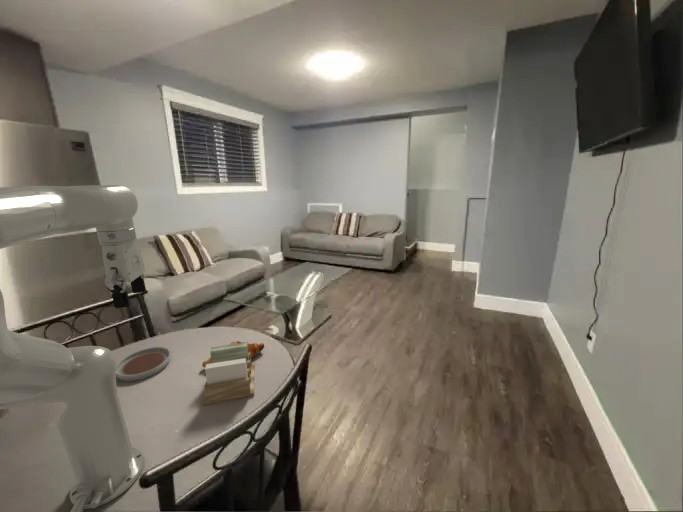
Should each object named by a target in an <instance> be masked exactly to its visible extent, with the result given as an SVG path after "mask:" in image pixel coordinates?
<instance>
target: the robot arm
mask: <svg viewBox="0 0 683 512" xmlns="http://www.w3.org/2000/svg"><path fill="white" fill-rule="evenodd" d="M138 205H139V203H138V199H137V197H136V195H135V193H134V191H132V190H131V189H130V188H128V187H127V186H125V185H121V184H120V185H119V184H116V185H115V184H114V185H113V184H108V185H107V184H106V185H105V184H103V185H100V184H98V185H97V184H96V185H95V184H94V185H93V184H91V185H67V186H63V185H20V186H19V185H18V186H6V187H4V186H3V187H0V250H1V249H6V248H9V247H13V246H17V245H20V244H23V243H28V242H30V241H34V240H38V239H42V238H46V237H49V236H55V235H61V234H62V235H63V234H67V233H74V232H79V231H83V230H89V229H94V228H95V230H96V234H97V238H98V242H99V243H98V244H99V245H100V246H101V251H102V260H103V265H104V266H103V267H104V271H105V275H106V277H105V279H104V284H105V285H106V288H107V290H108V291H109V293H110V295H111V298H112V302H113V307H114V308H115V309H121V308H122V309H123V308H129V307H130V306H131V302H130V297H129V293H128V291H127V290H126V287H127V283H130V287H131V291H132V293H133V294H140V293H145V292H147V290H146V289H147V287H146V284H145V278H144V277H145V275H144V273H145V271H146V267H145V263H144V260H143V255H142V253H141V249H140V248H141V247H140V246H139V244H138V243H139V242H138V241H137V239H138V237H137V234H136V229H135V225H134V224H135V223H134V220H133V218H134V216H136V214H137V211H138ZM119 285H120V286H119ZM5 307H6V306H5V299H4V294H3V292H2V290H1V289H0V410H8V409H10V410H11V409H16V408H17V409H18V408H22V407H23V408H24V407H25V408H26V407H32V406H38V405H44V404H53V403H65V404H66V406H65V408H64V409H63V410H62V412H61V413H60V415H59V417H58V421H57V430H58V433H59V436H60V438H61V442H62V443H63V446H64V450H65V453H66V456H67V458H68V461H69V464H70V467H71V470H72V472H73V476H74V479H75V480H74V482H73V483H72V485H71V487H70V490H69V499H70V502H71V505H73V507H72V509H71V510H70V512H84V510H89V509H96V508H98V507H101V506H103V505H105V504H108V503H109V502H111V501H113V500H114V499H116V498H117V497H119V496H120V495H122V494H123V493H125V491H127V490H128V489H129V488H130V487H131V486H132V485H133V484H134V483H135V482H136V480H137V479H138V477H139V476H140V475H141V473H142V471H143V468H144V466H145V457H144V454H143V452H142V451H141V450H140V449H139V448H137V447H133V446H132V443H131V438H130V435H129V431H128V427H127V423H126V420H125V416H124V411H123V408H122V405H121V401H120V396H119V393H118V386H117V377H116V364H117V361H116V356H115V354H114V352H113V351H111V350H110V349H109V348H107V347H104V346H100V345H99V346H98V345H84V346H83V345H82V346H74V347H66V346H65V345H64V344H61V342H60V343H59V342H58V341H55V340H51V339H48V338H41V337H38V336H33V335H28V334H24V333H20V332H19V333H18V332H16V331H12V330H9V328H8V324H7V318H6V309H5Z"/></svg>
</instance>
